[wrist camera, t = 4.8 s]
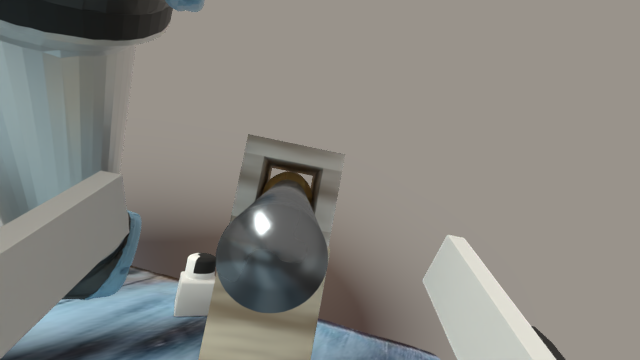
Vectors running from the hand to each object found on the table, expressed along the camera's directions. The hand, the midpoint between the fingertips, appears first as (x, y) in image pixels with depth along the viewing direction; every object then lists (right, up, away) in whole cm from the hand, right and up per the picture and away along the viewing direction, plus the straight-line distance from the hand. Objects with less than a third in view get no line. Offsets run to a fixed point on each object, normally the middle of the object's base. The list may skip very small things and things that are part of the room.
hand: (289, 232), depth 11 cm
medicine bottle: (-27, -27, +48) cm, 61 cm away
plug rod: (-2, -2, +10) cm, 10 cm away
